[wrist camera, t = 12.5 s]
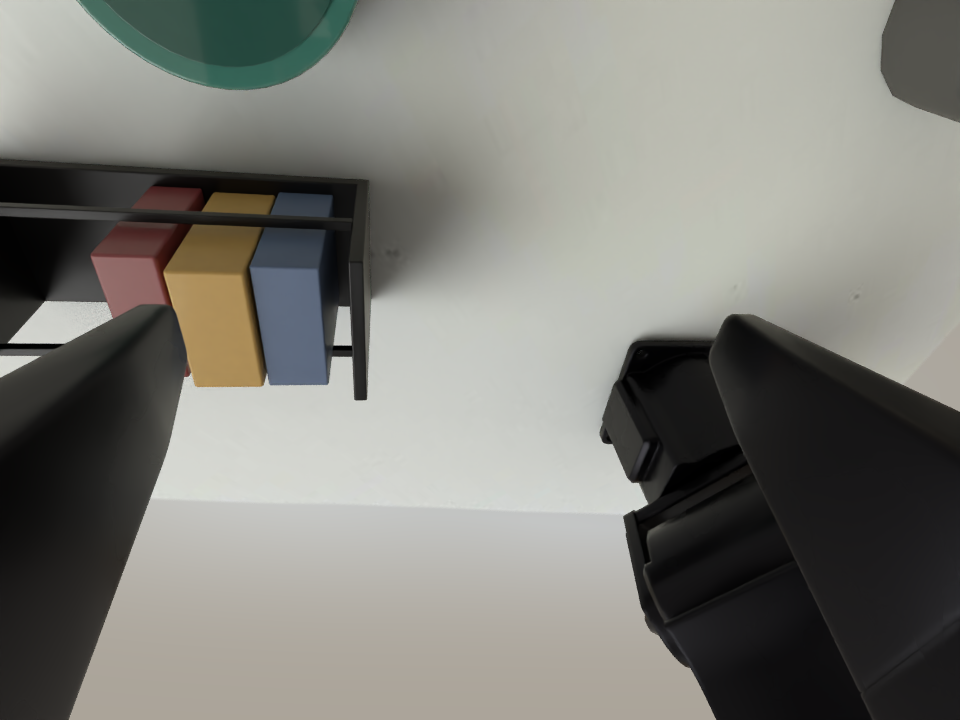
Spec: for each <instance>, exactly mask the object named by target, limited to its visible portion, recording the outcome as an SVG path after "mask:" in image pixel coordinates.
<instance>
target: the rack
mask: <svg viewBox="0 0 960 720" xmlns="http://www.w3.org/2000/svg"><path fill="white" fill-rule="evenodd" d="M151 186H161V187H180V188H199V189H201V190H202V192H203V197H204V201H205V205H206V204H207V202H208V200H209V199H210V197H211V196H212V194H213V193H215V192H219V193H238V194H258V195H273V196H275V198H276V199H277V196H278V194H279V193H280V192H283V193H302V194H321V195H333V201H334V218H333V217H311V216H289V215H267V214H245V213H222V212H200V211H178V210H156V209H134V208H132V207H133V205H134V204H135V203H136V202H137V201H138V200H139V199H140V198H141V197H142V195H143V194H144V193H145V192H146V191H147V190H148V189H149V188H150V187H151ZM119 221H124V222H148V223H172V224H196V225H220V226H244V227H268V228H292V229H316V230H335V235H336V252H337V269H338V286H339V303H338V306H349V307H350V314H351V336H352V346H333V351H332V357H352V358H353V381H354V399H355V400H367V387H368V362H369V337H370V312H371V272H370V213H369V181H368V180H354V179H336V178H319V177H302V176H284V175H267V174H249V173H232V172H214V171H197V170H179V169H162V168H145V167H127V166H110V165H92V164H75V163H57V162H40V161H22V160H5V159H0V356H43V355H45V354H47V353H49V352H51V351H53V350H54V349H56V348H58V347H60V346H62V345H64V344H14V343H8V342H9V341H10V339H11V338H12V337H13V336H14V335H15V334H16V333H17V332H18V331H19V329H20V328H21V327H22V326H23V325H24V324H25V323H26V322H27V321H28V319H29V318H30V317H31V316H32V315H33V314H34V313H35V312H36V311H37V309H38V308H39V307H40V306H41V305H42V304H43V303H44V302H45V301H76V302H107V300H106V298H105V295H104V292H103V289H102V287H101V284H100V281H99V278H98V276H97V273H96V270H95V268H94V265H93V262H92V259H91V253H92V252H93V250H94V249H95V248H96V247H97V246H98V245H99V244H100V243H101V241H102V240H103V239H104V238H105V237H106V236H107V235H108V234H109V232H110V231H111V230H112V229H113V228H114V227H115V226H116V225H117V223H118V222H119Z"/></svg>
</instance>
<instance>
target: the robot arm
mask: <svg viewBox="0 0 960 720" xmlns="http://www.w3.org/2000/svg"><path fill="white" fill-rule="evenodd" d="M641 350H643V351H642V352H641V353H638V352H639V351H641ZM637 353H638V354H637ZM186 366H187V350H186V346H185V342H184V339H183V335H182V331H181V328H180V324H179V321H178V317H177V314H176V312H175V310H174V308H173V307H171V306H170V305H166V304H141V305H138V306H136V307H134V308H132V309H130V310H129V311H127V312H125V313H123V314H121V315H119V316H117V317H115V318H113V319H111V320H110V321H108V322H106V323H104V324H102V325H100V326H98V327H96V328H94V329H92V330H91V331H89V332H87V333H85V334H83V335H81V336H79V337H77V338H75V339H73V340H72V341H70V342H68V343H66V344H64V345H62V346H60V347H58V348H56V349H54V350H53V351H51V352H49V353H47V354H45V355H43V356H41V357H39V358H37V359H35V360H34V361H32V362H30V363H28V364H26V365H24V366H22V367H20V368H18V369H16V370H15V371H13V372H11V373H9V374H7V375H5V376H3V377H1V378H0V720H69V717H70V714H71V712H72V709H73V706H74V704H75V701H76V698H77V695H78V693H79V690H80V687H81V684H82V682H83V679H84V676H85V674H86V671H87V668H88V666H89V663H90V660H91V657H92V655H93V652H94V649H95V646H96V644H97V641H98V638H99V635H100V633H101V630H102V627H103V625H104V622H105V619H106V617H107V614H108V611H109V609H110V606H111V603H112V600H113V598H114V595H115V592H116V589H117V587H118V584H119V581H120V579H121V576H122V573H123V571H124V567H125V565H126V562H127V560H128V557H129V554H130V551H131V549H132V546H133V543H134V540H135V538H136V535H137V532H138V530H139V527H140V524H141V522H142V519H143V516H144V514H145V511H146V508H147V505H148V503H149V500H150V497H151V495H152V492H153V489H154V486H155V484H156V481H157V478H158V476H159V473H160V470H161V467H162V465H163V462H164V459H165V456H166V453H167V450H168V446H169V442H170V438H171V434H172V429H173V425H174V420H175V416H176V411H177V407H178V402H179V398H180V393H181V389H182V384H183V380H184V375H185V371H186ZM602 420H603V424H602V427H601V430H600V437H601V439H602V441H603V443H605V444H613V446H614V448H615V450H616V453H617V455H618V457H619V460H620V462H621V464H622V466H623V469H624V471H625V473H626V476H627V478H628V479H629V480H630V481H631V482H632V483H639V484H640V487H641V489H642V491H643V493H644V496H645V498H646V500H647V502H648V505H646V506H644V507H643V508H641V509H639V510H637V511H635V510H633V511H631V512H630V513H628V514H626V515H624V516H623V518H624V523H625V528H626V538H627V543H628V548H629V552H630V557H631V562H632V567H633V571H634V576H635V581H636V585H637V590H638V594H639V599H640V604H641V608H642V610H643V612H644V613H645V621H646V624H647V626H648V628H649V629H650V631H651V632H653V633H655V634H657V635H659V636H660V638H661V639H662V641H663V642H664V644H665V645H666V647H667V648H668V649H669V651H670V652H671V653H672V655H673V656H674V657H675V658H676V659H677V660H678V661H679V662H680V663H681V664H683V665H684V666H686V667H688V668H691V670H692V672H693V673H694V675H695V677H696V679H697V681H698V683H699V685H700V686H701V689H702V691H703V693H704V695H705V697H706V699H707V701H708V703H709V705H710V707H711V709H712V712H713V714H714V716H715V718H716V720H960V412H959V411H957V410H955V409H953V408H951V407H948V406H946V405H944V404H942V403H940V402H938V401H936V400H934V399H931V398H929V397H927V396H925V395H923V394H921V393H919V392H917V391H915V390H912V389H910V388H908V387H906V386H904V385H902V384H900V383H898V382H895V381H893V380H891V379H889V378H887V377H885V376H883V375H881V374H878V373H876V372H874V371H872V370H870V369H868V368H866V367H864V366H861V365H859V364H857V363H855V362H853V361H851V360H849V359H847V358H844V357H842V356H840V355H838V354H836V353H834V352H832V351H830V350H827V349H825V348H823V347H821V346H819V345H817V344H815V343H813V342H810V341H808V340H806V339H804V338H802V337H800V336H798V335H796V334H794V333H791V332H789V331H787V330H785V329H783V328H781V327H779V326H777V325H774V324H772V323H770V322H768V321H766V320H764V319H762V318H760V317H757V316H755V315H751V314H732V315H730V316H728V317H727V318H726V319H725V320H724V322H723V324H722V326H721V328H720V330H719V333H718V335H717V337H716V339H715V341H637V342H635V343H633V344H632V345H631V346H630V347H629V349H628V352H627V355H626V358H625V361H624V364H623V366H622V369H621V372H620V375H619V378H618V380H617V381H616V382H615V384H614V386H613V389H612V392H611V395H610V397H609V400H608V403H607V406H606V409H605V412H604V415H603V418H602Z"/></svg>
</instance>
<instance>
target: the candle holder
mask: <svg viewBox="0 0 960 720" xmlns="http://www.w3.org/2000/svg"><path fill="white" fill-rule="evenodd" d="M881 72H882V74H883V76H884V78H885V81H886V83H887V85H888V87H889V89H890V91H891V93H892V95H893V96H895V97H897V98H898V99H900V100H902V101H904V102H906V103H908V104H910V105H912V106H914V107H916V108H919V109H922V110H925V111H928V112H931V113H934V114H936V115H939V116H942V117H945V118H948V119H951V120H954V121H957V122H959V123H960V0H895V3H894V5H893V8H892V11H891V13H890V16H889V19H888V21H887V24H886V27H885V29H884V32H883V35H882V56H881Z"/></svg>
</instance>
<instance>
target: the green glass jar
mask: <svg viewBox="0 0 960 720" xmlns="http://www.w3.org/2000/svg"><path fill="white" fill-rule="evenodd" d="M77 1H78V3H79V4H80V5H81V6H82V7H83V8H84V10H85V11H86V12H87V13H88V14H89V15H90V16H91V17H92V18H93V19H94V20H95V21H96V22H97V23H98V24H99V25H100V26H101V27H102V28H103V29H104V30H105V31H106V32H107V33H109V34H110V35H111V36H112V37H114V38H115V39H116V40H117V41H118V42H120V43H121V44H122V45H123V46H125V47H126V48H127V49H129V50H130V51H132V52H133V53H135V54H136V55H138V56H139V57H141V58H142V59H144V60H145V61H147V62H148V63H150V64H152V65H154V66H156V67H158V68H159V69H161V70H163V71H165V72H167V73H169V74H172V75H174V76H177V77H179V78H182V79H184V80H186V81H189V82H193V83H196V84H200V85H204V86H207V87H213V88H219V89H226V90H253V89H261V88H267V87H271V86H274V85H278V84H282V83H284V82H287V81H289V80H291V79H293V78H295V77H298V76H300V75H301V74H303V73H304V72H306V71H307V70H309V69H310V68H312V67H313V66H315V65H316V64H317V63H318V62H319V61H320V60H321V59H322V58H323V57H325V56H326V55H327V54H328V53H329V51H330V50H331V49H332V48H333V46H334V45H335V44H336V43H337V42H338V40H339V39H340V37H341V36H342V34H343V32H344V31H345V29H346V27H347V26H348V24H349V22H350V20H351V18H352V15H353V13H354V10H355V8H356V6H357V3H358V1H359V0H77Z"/></svg>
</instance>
